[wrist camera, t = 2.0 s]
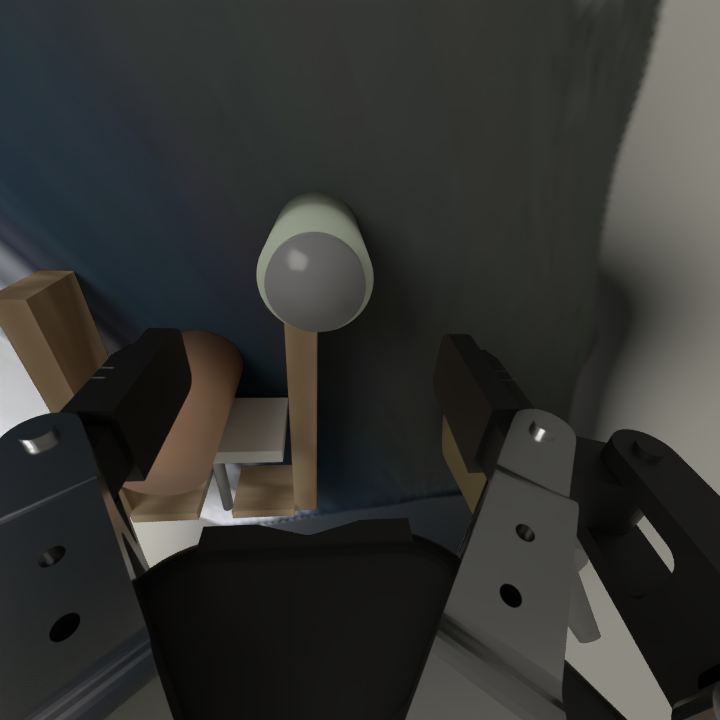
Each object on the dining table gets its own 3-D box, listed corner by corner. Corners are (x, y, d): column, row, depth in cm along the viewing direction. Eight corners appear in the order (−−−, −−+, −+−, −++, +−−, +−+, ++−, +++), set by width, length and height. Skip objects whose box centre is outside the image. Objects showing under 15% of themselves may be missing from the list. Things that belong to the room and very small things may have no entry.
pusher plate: (167, 494, 36) (143, 553, 31) (129, 398, 29) (89, 455, 24) (293, 490, 37) (289, 545, 33) (288, 397, 30) (281, 450, 25)
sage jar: (278, 275, 24) (259, 339, 17) (272, 188, 21) (247, 221, 14) (355, 277, 25) (370, 340, 18) (361, 194, 22) (381, 228, 14)
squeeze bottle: (417, 433, 35) (488, 664, 20) (455, 371, 30) (582, 603, 16) (485, 447, 37) (595, 664, 22) (529, 390, 33) (701, 610, 18)
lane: (134, 475, 34) (108, 523, 30) (40, 270, 22) (-23, 302, 18) (316, 470, 36) (316, 514, 32) (317, 280, 25) (316, 311, 20)
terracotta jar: (173, 391, 29) (114, 497, 21) (155, 329, 26) (76, 425, 17) (246, 391, 30) (218, 493, 21) (238, 330, 26) (200, 424, 18)
